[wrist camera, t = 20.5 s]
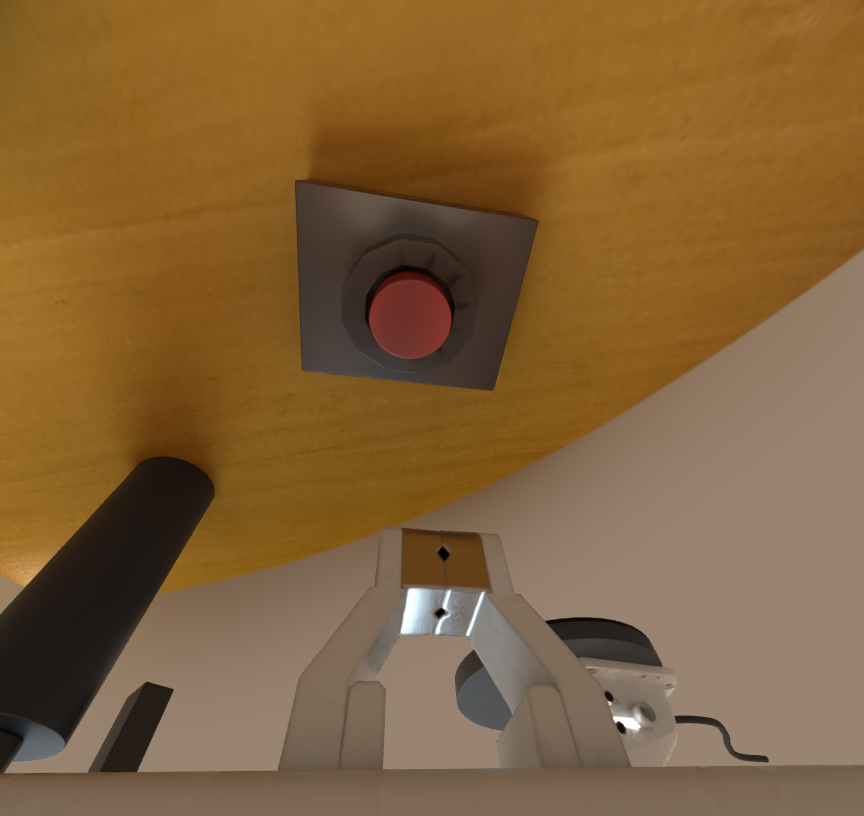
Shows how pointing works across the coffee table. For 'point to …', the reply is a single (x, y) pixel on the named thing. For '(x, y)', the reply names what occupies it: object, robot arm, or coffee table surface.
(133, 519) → the spray bottle
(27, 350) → the coffee table surface
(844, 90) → the coffee table surface
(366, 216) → the button block
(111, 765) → the block
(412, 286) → the button
